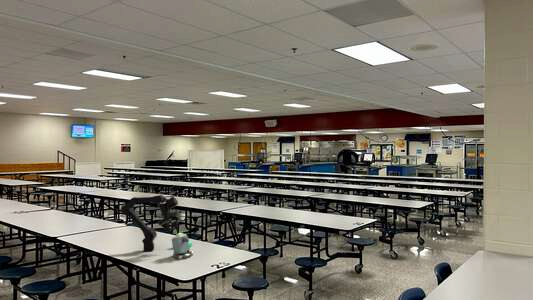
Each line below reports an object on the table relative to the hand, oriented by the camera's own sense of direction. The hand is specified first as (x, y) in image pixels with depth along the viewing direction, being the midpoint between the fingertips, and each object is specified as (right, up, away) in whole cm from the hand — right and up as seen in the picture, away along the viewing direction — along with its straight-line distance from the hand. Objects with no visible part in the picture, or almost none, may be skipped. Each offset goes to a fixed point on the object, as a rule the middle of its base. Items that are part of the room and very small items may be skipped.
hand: (173, 231), depth 256 cm
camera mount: (+4, -15, +14) cm, 21 cm away
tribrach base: (+8, -15, -10) cm, 20 cm away
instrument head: (+10, -11, -11) cm, 19 cm away
